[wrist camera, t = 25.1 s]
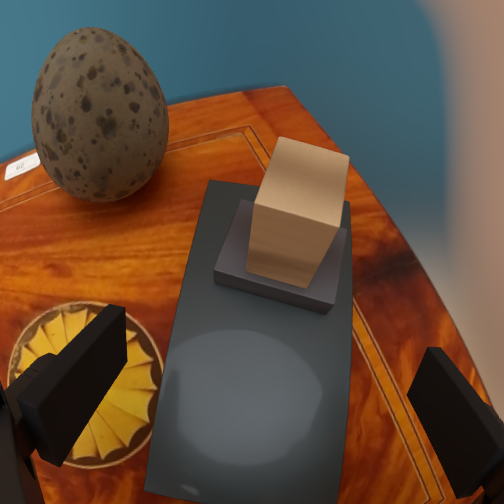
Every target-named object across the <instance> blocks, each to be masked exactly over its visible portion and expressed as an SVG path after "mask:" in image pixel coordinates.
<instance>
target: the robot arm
mask: <svg viewBox="0 0 504 504" xmlns="http://www.w3.org/2000/svg"><path fill="white" fill-rule="evenodd" d="M126 363H127V343H126V314H125V307H121V306H116V305H112V304H109V305H108V306H106V307H105V308H104V309H103V310H102V311H101V312H100V313H99V314H98V315H97V316H96V317H95V318H94V319H93V320H92V321H91V322H90V323H89V324H88V325H87V326H86V327H85V328H84V329H83V330H82V331H81V332H80V333H79V334H78V335H77V336H76V337H75V338H73V339H72V340H71V341H70V342H69V343H68V344H67V345H66V346H65V347H64V348H63V349H62V350H61V352H60V353H59V354H58V355H54V354H52V353H47V354H45V355H43V356H41V357H39V358H37V359H36V360H35V361H34V362H33V363H32V364H31V365H30V367H29V368H27V369H26V370H25V371H24V372H23V374H21V375H20V376H19V377H18V378H17V379H16V380H15V381H14V382H13V383H12V384H11V385H10V386H9V387H8V388H7V389H6V390H5V391H4V390H3V387H2V384H1V381H0V504H45V501H44V498H43V495H42V491H41V488H40V484H39V481H38V477H37V473H36V469H35V465H34V461H33V459H32V457H31V454H32V453H33V451H34V450H35V448H36V449H37V451H38V453H39V456H40V458H41V459H43V460H45V461H47V462H49V463H51V464H53V465H56V466H58V467H61V465H62V464H63V462H64V460H65V459H66V457H67V455H68V454H69V452H70V450H71V449H72V447H73V446H74V444H75V442H76V441H77V439H78V437H79V436H80V434H81V433H82V431H83V429H84V428H85V426H86V425H87V423H88V422H89V420H90V418H91V417H92V415H93V414H94V412H95V410H96V409H97V407H98V406H99V404H100V403H101V401H102V400H103V398H104V396H105V395H106V393H107V392H108V390H109V389H110V387H111V386H112V384H113V383H114V381H115V380H116V378H117V377H118V375H119V374H120V372H121V370H122V369H123V367H124V366H125V364H126ZM407 397H408V399H409V401H410V403H411V405H412V406H413V408H414V410H415V412H416V414H417V416H418V418H419V420H420V422H421V424H422V426H423V428H424V430H425V432H426V434H427V436H428V438H429V440H430V442H431V444H432V446H433V448H434V450H435V453H436V455H437V457H438V459H439V461H440V463H441V465H442V467H443V470H444V472H445V474H446V476H447V478H448V480H449V483H450V485H451V487H452V489H453V492H454V494H455V496H456V498H457V499H461V498H464V497H468V496H471V495H473V494H474V492H475V491H476V490H477V489H478V488H479V487H480V486H481V485H482V487H483V489H484V491H483V492H482V493H481V494H480V495H479V496H478V497H477V498H476V499H475V500H474V501H473V502H472V503H471V504H504V423H503V421H502V420H501V419H499V416H498V414H497V413H496V412H495V410H494V409H493V408H492V407H490V406H489V405H488V404H486V403H485V402H483V400H482V399H481V398H480V396H479V395H478V394H477V392H476V391H475V390H474V389H473V387H472V386H471V385H470V383H469V382H468V381H467V380H466V378H465V377H464V376H463V375H462V373H461V372H460V371H459V369H458V368H457V367H456V366H455V365H454V363H453V362H452V361H451V360H450V358H449V357H448V356H447V355H446V353H445V352H444V351H443V350H442V349H441V347H427V349H426V352H425V354H424V357H423V359H422V361H421V364H420V366H419V368H418V371H417V373H416V375H415V378H414V380H413V382H412V384H411V386H410V389H409V391H408V393H407Z"/></svg>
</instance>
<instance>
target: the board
mask: <svg viewBox="0 0 504 504" xmlns="http://www.w3.org/2000/svg"><path fill="white" fill-rule="evenodd" d="M259 189H260V186H253V185H246V184H239V183H231V182H224V181H216V180H209V183H208V186H207V190H206V193H205V197H204V201H203V204H202V208H201V212H200V215H199V219H198V223H197V227H196V231H195V234H194V238H193V242H192V246H191V250H190V254H189V258H188V262H187V266H186V270H185V274H184V278H183V283H182V287H181V291H180V295H179V300H178V304H177V309H176V313H175V317H174V322H173V327H172V331H171V336H170V341H169V345H168V350H167V355H166V360H165V365H164V370H163V375H162V380H161V386H160V391H159V396H158V402H157V407H156V413H155V419H154V425H153V431H152V437H151V443H150V449H149V456H148V462H147V469H146V476H145V483H144V491H146V492H150V493H154V494H158V495H162V496H167V497H171V498H176V499H180V500H185V501H191V502H196V503H202V504H337V499H338V493H339V486H340V479H341V472H342V464H343V456H344V448H345V439H346V429H347V418H348V406H349V392H350V376H351V355H352V318H353V278H352V240H351V219H350V202H349V201H344V203H343V210H342V216H341V223H340V227H341V228H344V229H347V235H346V242H345V248H344V255H343V261H342V267H341V273H340V279H339V284H338V290H337V295H336V301H335V305H334V306H333V307H332V308H331V310H330V311H329V312H328V313H327V314H326V315H325V314H322V313H318V312H315V311H311V310H307V309H304V308H300V307H297V306H293V305H290V304H286V303H282V302H279V301H276V300H272V299H269V298H265V297H262V296H258V295H255V294H252V293H248V292H245V291H241V290H238V289H235V288H231V287H228V286H225V285H222V284H218V283H215V282H214V274H213V268H214V266H215V263H216V261H217V258H218V255H219V253H220V250H221V248H222V245H223V243H224V240H225V238H226V235H227V233H228V230H229V228H230V225H231V223H232V220H233V218H234V215H235V213H236V210H237V208H238V205H239V203H240V200H241V199H243V200H247V201H250V202H255V199H256V197H257V194H258V191H259Z"/></svg>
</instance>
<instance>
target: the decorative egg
mask: <svg viewBox="0 0 504 504" xmlns="http://www.w3.org/2000/svg"><path fill="white" fill-rule="evenodd" d="M32 132H33V138H34V143H35V147H36V150H37V153H38V156H39V159H40V161H41V163H42V165H43V167H44V169H45V170H46V172H47V173H48V175H49V176H50V177H51V179H52V180H53V181H54V182H55V183H56V184H57V185H58V186H59V187H60V188H61V189H63V190H64V191H65V192H67V193H69V194H70V195H72V196H74V197H76V198H79V199H82V200H85V201H89V202H98V203H104V202H112V201H116V200H120V199H123V198H125V197H127V196H129V195H131V194H133V193H135V192H136V191H138V190H139V189H140V188H142V187H143V186H144V185H145V184H146V183H147V182H148V181H149V180H150V179H151V177H152V176H153V175H154V173H155V172H156V170H157V169H158V167H159V165H160V163H161V161H162V159H163V156H164V153H165V150H166V146H167V141H168V134H169V118H168V110H167V105H166V101H165V97H164V95H163V92H162V89H161V87H160V84H159V82H158V80H157V78H156V76H155V74H154V73H153V71H152V69H151V68H150V66H149V65H148V63H147V62H146V61H145V60H144V58H143V57H142V56H141V55H140V53H139V52H138V51H137V50H136V49H135V48H134V47H133V46H132V45H130V44H129V43H128V42H127V41H125V40H124V39H123V38H121V37H119V36H118V35H116V34H114V33H113V32H110V31H108V30H105V29H102V28H96V27H86V28H80V29H77V30H75V31H73V32H71V33H69V34H67V35H66V36H65V37H64V38H62V40H60V41H59V42H58V43H57V44H56V46H55V47H54V48H53V49H52V51H51V52H50V54H49V55H48V57H47V59H46V60H45V62H44V64H43V66H42V68H41V71H40V73H39V77H38V79H37V82H36V86H35V90H34V95H33V101H32Z"/></svg>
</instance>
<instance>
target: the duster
mask: <svg viewBox="0 0 504 504" xmlns="http://www.w3.org/2000/svg"><path fill="white" fill-rule="evenodd" d="M348 165H349V156H347V155H344V154H340V153H337V152H334V151H331V150H327V149H324V148H321V147H317V146H314V145H310V144H307V143H303V142H299V141H296V140H292V139H288V138H284V137H279V138H278V141H277V143H276V146H275V149H274V151H273V154H272V157H271V159H270V162H269V165H268V167H267V170H266V173H265V175H264V178H263V181H262V183H261V186H260V189H259V191H258V194H257V197H256V199H255V202H250V201H247V200H243V199H241V200H240V203H239V205H238V208H237V210H236V213H235V215H234V218H233V220H232V223H231V225H230V228H229V230H228V233H227V235H226V238H225V240H224V243H223V245H222V248H221V250H220V253H219V255H218V258H217V261H216V263H215V266H214V268H213V274H214V282H215V283H218V284H222V285H225V286H228V287H231V288H235V289H238V290H241V291H245V292H248V293H252V294H255V295H258V296H262V297H265V298H269V299H272V300H276V301H279V302H282V303H286V304H290V305H293V306H297V307H300V308H304V309H307V310H311V311H315V312H318V313H322V314H325V315H326V314H327V313H328V312H329V311H330V310H331V308H332V307H333V306H334V305H335V301H336V295H337V290H338V284H339V279H340V273H341V267H342V261H343V255H344V248H345V242H346V235H347V229H344V228H341V227H340V223H341V216H342V210H343V203H344V196H345V188H346V181H347V173H348Z"/></svg>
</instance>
